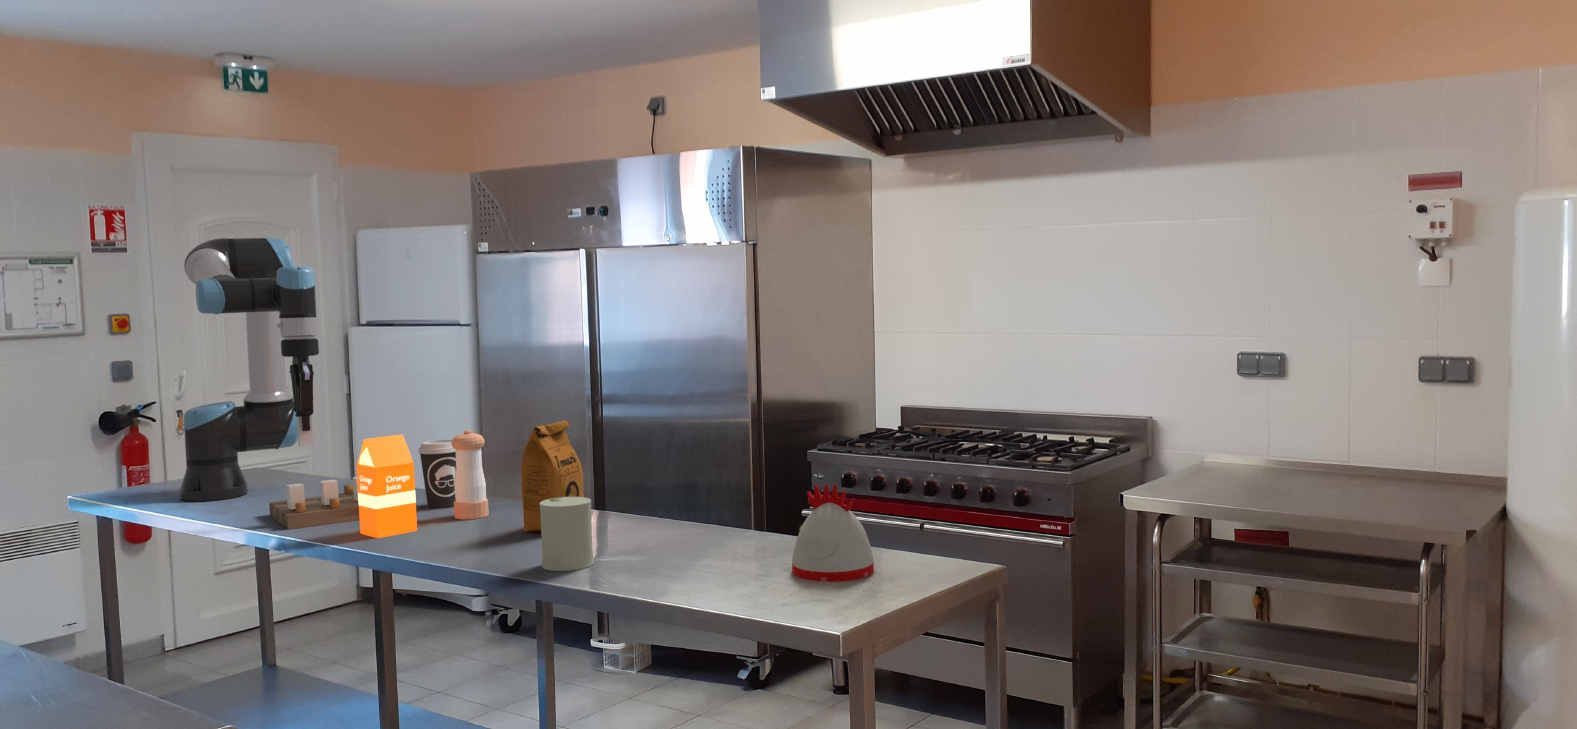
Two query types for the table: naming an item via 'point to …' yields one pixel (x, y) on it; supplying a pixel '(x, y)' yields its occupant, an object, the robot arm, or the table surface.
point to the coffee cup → (439, 472)
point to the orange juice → (386, 487)
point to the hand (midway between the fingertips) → (306, 445)
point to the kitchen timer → (832, 541)
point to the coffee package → (548, 471)
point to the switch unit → (317, 511)
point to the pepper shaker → (469, 477)
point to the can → (566, 533)
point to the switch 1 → (295, 495)
